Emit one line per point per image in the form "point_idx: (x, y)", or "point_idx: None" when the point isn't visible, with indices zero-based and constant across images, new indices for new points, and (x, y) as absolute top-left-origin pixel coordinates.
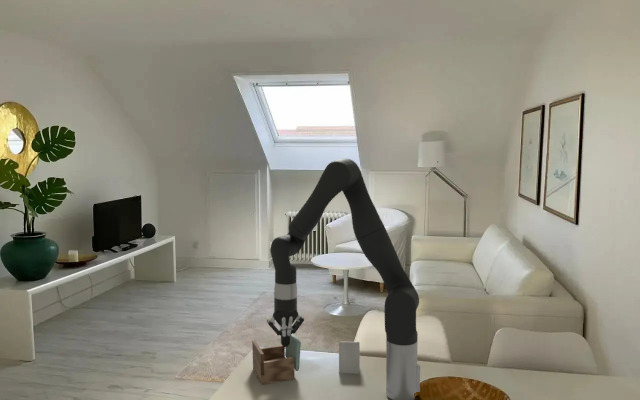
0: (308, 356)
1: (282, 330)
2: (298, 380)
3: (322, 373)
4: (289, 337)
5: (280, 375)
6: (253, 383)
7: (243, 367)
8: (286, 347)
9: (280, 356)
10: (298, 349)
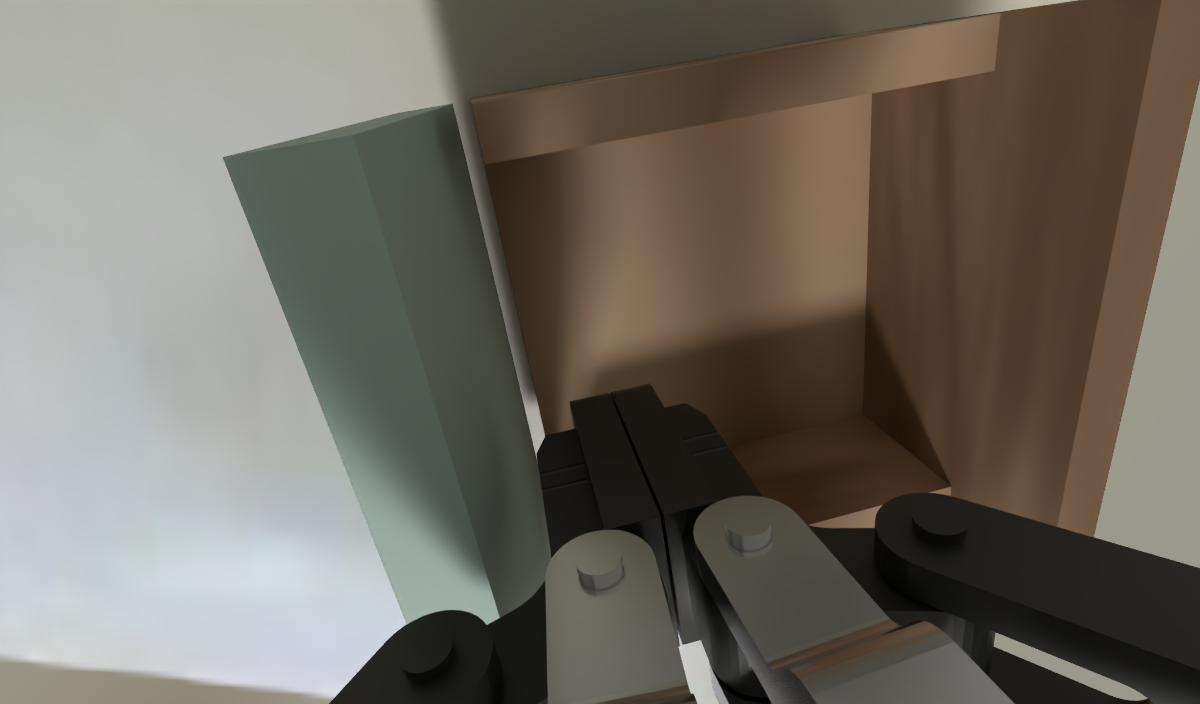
0: (292, 597)
1: (883, 629)
2: (423, 41)
3: (91, 178)
4: (563, 532)
5: (655, 68)
6: None
7: None
8: None
9: None
10: (354, 127)
